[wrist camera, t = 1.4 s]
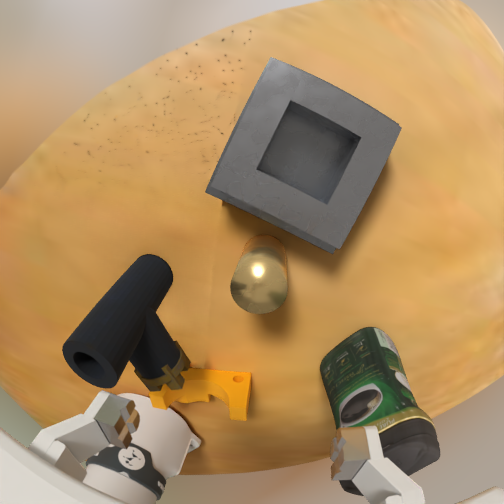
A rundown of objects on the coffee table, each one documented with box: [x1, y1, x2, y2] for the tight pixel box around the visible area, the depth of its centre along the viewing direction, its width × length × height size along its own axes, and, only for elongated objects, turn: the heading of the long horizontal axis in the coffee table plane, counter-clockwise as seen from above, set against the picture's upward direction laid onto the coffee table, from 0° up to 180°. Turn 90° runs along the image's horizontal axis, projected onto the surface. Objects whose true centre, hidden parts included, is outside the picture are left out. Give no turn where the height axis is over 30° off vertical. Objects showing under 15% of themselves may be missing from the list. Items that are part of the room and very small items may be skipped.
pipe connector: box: [62, 254, 190, 392], centre depth 25 cm, size 12×5×15 cm, turn 19°
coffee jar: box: [320, 327, 440, 496], centre depth 23 cm, size 10×8×19 cm
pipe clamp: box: [148, 367, 251, 421], centre depth 33 cm, size 12×4×6 cm, turn 90°
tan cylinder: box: [230, 235, 288, 314], centre depth 25 cm, size 4×4×8 cm
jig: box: [205, 57, 401, 254], centre depth 23 cm, size 15×14×5 cm
